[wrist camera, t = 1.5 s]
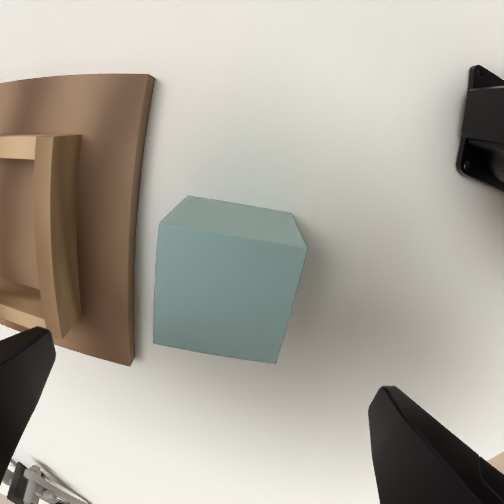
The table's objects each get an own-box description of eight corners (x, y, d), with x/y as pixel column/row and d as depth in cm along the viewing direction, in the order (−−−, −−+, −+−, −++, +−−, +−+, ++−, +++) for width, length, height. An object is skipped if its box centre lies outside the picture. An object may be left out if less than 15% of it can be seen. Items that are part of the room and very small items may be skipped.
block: (290, 212, 15) (307, 248, 11) (270, 302, 17) (276, 363, 12) (187, 195, 15) (159, 223, 10) (178, 287, 17) (153, 343, 12)
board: (154, 77, 13) (127, 63, 10) (134, 356, 18) (117, 394, 15) (-43, 94, 12) (-78, 96, 9) (-33, 299, 17) (-58, 320, 14)
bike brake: (-14, 445, 26) (66, 500, 36) (-26, 479, 20) (60, 529, 30) (40, 459, 25) (125, 511, 34) (28, 504, 19) (121, 545, 28)
